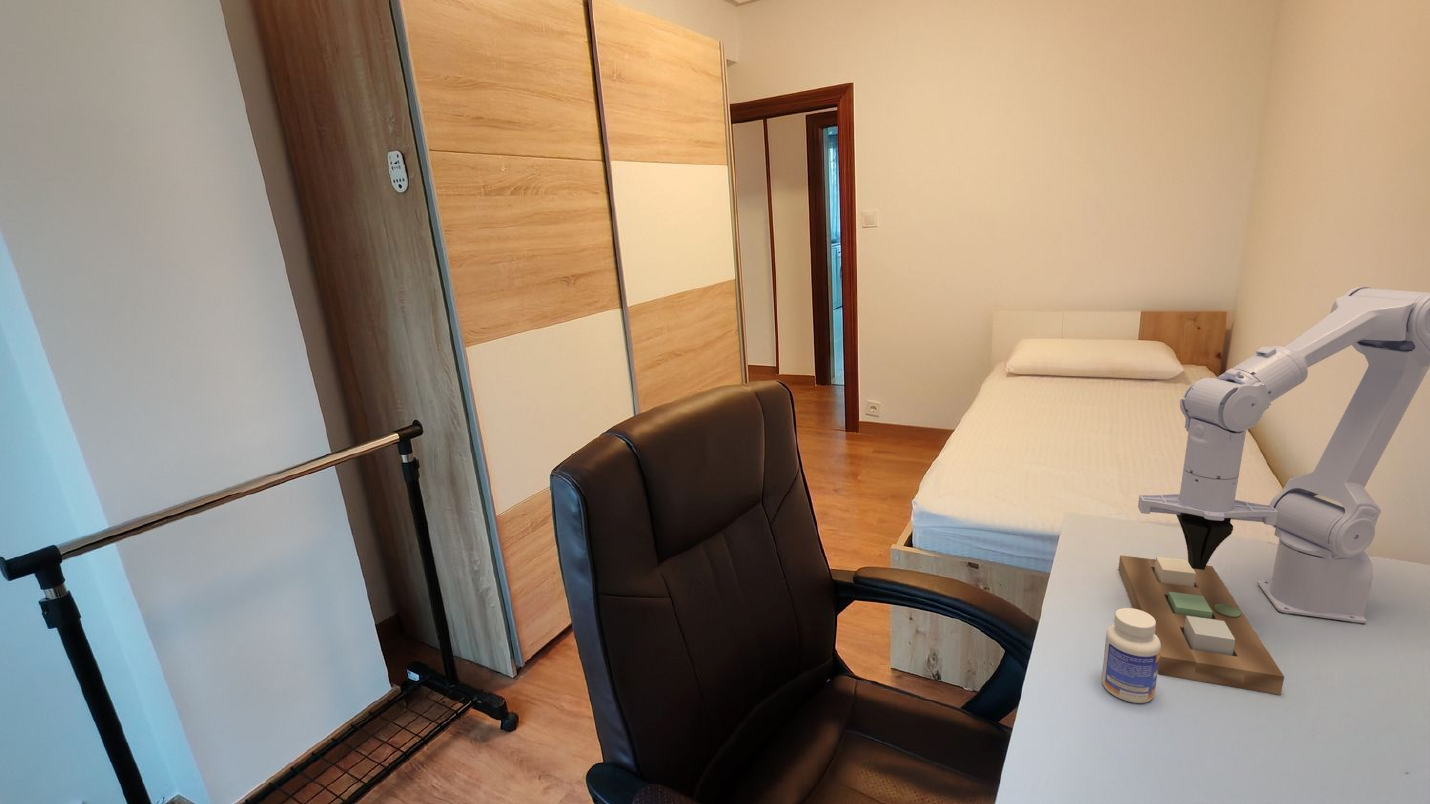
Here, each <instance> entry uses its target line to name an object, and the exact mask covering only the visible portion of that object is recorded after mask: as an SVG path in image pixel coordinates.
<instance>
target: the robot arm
mask: <svg viewBox="0 0 1430 804" xmlns="http://www.w3.org/2000/svg"><path fill="white" fill-rule="evenodd" d="M1351 346H1352V347H1353V348H1354V350H1355V351H1356V352H1358V353H1360V354H1361V355H1364V357H1365V359H1366V361H1367V363H1368V366H1367V367H1366V369H1365V372H1364V374H1363V376H1362V378H1361V380H1360V381H1359V384H1358V385H1357V388H1356V389H1355V391H1354V394H1353V395H1352V397H1351V399H1350V401H1349V403H1348V404H1347V407H1346V409H1345V410H1344V412H1343V415H1342V417H1341V418H1340V421H1339V422H1338V424H1337V426H1336V427H1335V430H1334V431H1333V434H1332V436H1331V438H1330V440H1329V441H1328V443H1327V445H1326V447H1325V449H1324V451H1323V453H1322V455H1321V456H1320V459H1319V460H1318V462H1317V464H1316V466H1315V468H1314V470H1313V471H1312V472H1309V473H1305V474H1302V475H1298V476H1294V477H1291V478H1289V479H1288V480H1287V482H1286V484H1285V486H1284V487H1283V488H1282V489H1281V491H1280V492H1279V493H1277V494H1276V495H1275V496H1274V497H1273V498H1272V499H1271V501H1270V503H1269V504H1261V503H1255V502H1250V501H1242V500H1238V499H1236V494H1237V490H1238V489H1237V488H1238V482H1239V476H1240V471H1241V464H1242V458H1243V451H1244V446H1245V442H1246V441H1245V439H1246V434H1247V430H1249V429H1252V428H1253V427H1256V425H1257V424H1258V423H1259V421H1260V420H1261V418H1262V417H1263V414H1264V413H1265V411H1267V410H1268V409H1270V406H1271V405H1272V402H1274V401H1275V400H1277V399H1278V398H1281V396H1283V395H1284V394H1286V393H1288V392H1290V391H1292V390H1293V389H1294V388H1297V387H1298V386H1299V385H1301V384H1303V383H1305V381H1306V380H1307V378H1308V374H1309V372H1308V371H1309V370H1308V368H1310V367H1312V366H1314V365H1316V364H1317V363H1320V362H1322V361H1324V360H1325V359H1328V358H1329V357H1332V356H1333V355H1334V354H1337V353H1339V352H1341V351H1343V350H1344V349H1346V348H1348V347H1351ZM1429 369H1430V292H1427V291H1426V292H1425V291H1413V290H1398V289H1397V290H1396V289H1386V288H1385V289H1384V288H1383V289H1382V288H1373V287H1368V286H1357V287H1353V288H1351V289H1350V290H1348V291H1347V292H1346V293H1344V295H1342V296H1339V297H1336V298H1335V299H1334V302H1333V304H1332V307H1331V309H1330V313H1329V314H1328V315H1326V316H1325V317H1323V318H1322V319H1321V320H1320V321H1318V322H1317V323H1315V324H1314V325H1312V326H1311V327H1310V328H1308V329H1307V330H1306V331H1304V332H1303V333H1302V334H1300V335H1299V336H1297V337H1296V338H1295V339H1294V340H1292V341H1291V342H1289V343H1288V344H1287V345H1285V346H1280V345H1269V346H1262V347H1260V348H1258V349H1257V350H1255V354H1253V355H1251V356H1250V357H1248V358H1246V359H1245V360H1243V361H1241V362H1240V363H1238V364H1237V365H1235V366H1233V367H1232V368H1229V369H1228V370H1225V372H1223V373H1222V374H1220V375H1218V376H1217V377H1216V378H1215V377H1211V376H1210V377H1205V378H1202V379H1198V380H1196V381H1195V382H1193V383H1192V384H1190V385H1189V386H1188V387H1187V389H1186V391H1185V393H1184V395H1183V398H1180V399H1179V409H1180V412H1181V413H1182V414H1183V416H1184V419H1185V420H1184V421H1185V423H1184V428H1185V429H1186V432H1187V441H1186V448H1185V453H1184V455H1185V456H1184V462H1183V469H1182V476H1181V483H1180V491H1179V493H1174V494H1139V496H1138V504H1137V508H1138V511H1139V512H1140V513H1141V514H1145V515H1149V514H1151V513H1155V514H1166V515H1167V514H1169V515H1176V517H1177V520H1178V522H1179V524H1180V527H1181V530H1182V533H1183V536H1184V539H1185V544H1186V550H1187V551H1186V552H1187V560H1188V563H1189V564H1190V566H1191V568H1193V569H1200V570H1205V567H1206V565H1207V566H1208V563H1209V560H1210V559H1211V557H1212V556H1213V554H1214V552H1215V551H1216V550H1217V549H1218V547H1219V546H1220V545H1221V544H1222V543H1223V542H1224V541H1225V540H1226V539H1227V538H1229V537H1230V536H1231V535H1232V533H1233V530H1234V526H1233V524H1232V523H1231V521H1233V520H1235V521H1244V522H1245V521H1246V522H1255V523H1262V524H1265V525H1268V526H1271V527H1273V528H1274V529H1275V530H1274V536H1275V537H1277V538H1278V539H1279V540H1278V544H1277V550H1276V554H1275V559H1274V560H1275V561H1274V564H1273V569H1272V576H1271V581H1269V580H1268V581H1266V580H1258V581H1257V584H1258V586H1259V587H1260V589H1261V590H1262V592H1263V593H1264V594H1265V595H1266V597H1267V598H1268V599H1269V601H1270V602H1271V604H1272V605H1273V606H1274V607H1275V609H1276V611H1278V612H1280V613H1286V614H1292V615H1299V616H1300V615H1302V616H1309V617H1315V618H1322V619H1329V620H1331V619H1332V620H1339V621H1345V622H1353V623H1359V624H1366V623H1367V620H1368V619H1366V617H1365V613H1366V609H1367V605H1368V601H1369V596H1370V592H1371V588H1372V583H1373V579H1374V572H1373V571H1374V570H1373V569H1374V568H1373V562H1371V559H1370V556H1369V555H1368V553H1366V552H1365V551H1366V549H1368V548H1369V546H1370V545H1371V544H1372V542H1373V541H1374V538H1375V535H1376V534H1375V533H1376V524H1377V522H1378V519H1379V516H1380V514H1381V513H1382V510H1381V508H1380V506H1379V505H1378V504H1377V502H1376V501H1375V500H1374V499H1373V497H1371V495H1370V494H1369V493H1368V491H1367V490H1366V489H1365V487H1366V486H1367V484H1368V481H1369V480H1370V478H1371V476H1372V474H1373V473H1374V471H1375V469H1376V467H1377V466H1378V464H1379V461H1380V460H1381V458H1382V455H1383V454H1384V452H1385V450H1386V448H1387V446H1388V445H1389V443H1390V441H1391V440H1392V437H1393V436H1394V434H1395V432H1396V430H1397V428H1398V426H1399V424H1400V422H1401V421H1402V419H1403V417H1404V415H1405V413H1406V412H1407V410H1408V408H1409V406H1410V404H1411V402H1412V401H1413V399H1414V397H1415V395H1416V393H1417V391H1418V389H1419V388H1420V386H1421V385H1422V382H1423V380H1424V378H1425V376H1426V374H1427V372H1428V371H1429ZM1317 496H1321V497H1324V498H1327V499H1329V500H1332V501H1334V502H1337V503H1339V504H1340V505H1338V504H1336V503H1332V502H1331V501H1327V500H1325V499H1323V498H1319V497H1317ZM1341 505H1342V506H1341Z"/></svg>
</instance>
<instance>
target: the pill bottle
mask: <svg viewBox="0 0 1430 804" xmlns="http://www.w3.org/2000/svg"><path fill="white" fill-rule="evenodd" d="M1113 620H1114V621H1113V622H1114V623H1113V624H1111V625H1110V626H1109V627H1108V628H1107V630H1106V633H1105V634H1106V635H1105V643H1104V644H1105V645H1104V656H1103V664H1102V666H1103V667H1102V673H1101V683H1102V685H1103V687H1104V688H1105V690H1106V691H1107V692H1108V693H1109V694H1111V695H1112V696H1114V697H1116V698H1117V699H1121V700H1123V701H1125V702H1128V703H1135V704H1144V703H1145V704H1146V703H1149V702H1151V701H1152V700H1153V699H1154V696H1155V692H1156V686H1157V685H1156V684H1157V680H1158V679H1157V678H1158V665H1159V657H1160V649H1161V643H1160V640H1159V638H1158V637H1157V636H1156V635H1155V628H1156V621H1155V619H1154V618H1153V617H1152V616H1151V615H1150V614H1148V613H1146V612H1144V611H1141V610H1138V609H1133V607H1132V608H1131V607H1122V608H1119V609H1117V610H1116V611H1115V613H1114V619H1113Z"/></svg>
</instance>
